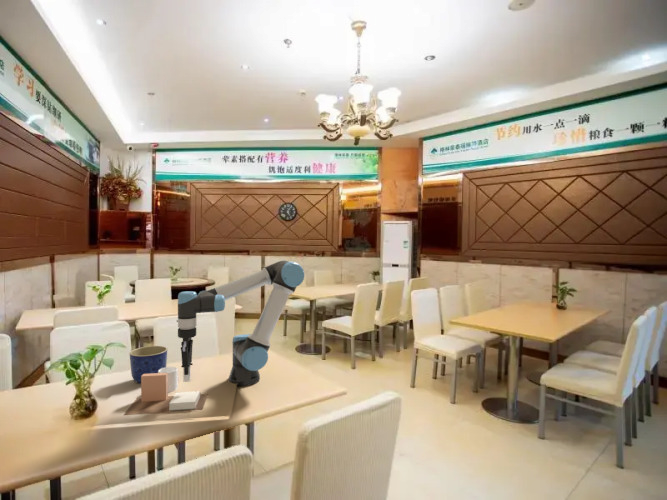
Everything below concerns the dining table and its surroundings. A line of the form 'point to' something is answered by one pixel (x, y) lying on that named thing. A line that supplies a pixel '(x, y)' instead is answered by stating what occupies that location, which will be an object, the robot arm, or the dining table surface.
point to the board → (159, 406)
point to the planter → (147, 361)
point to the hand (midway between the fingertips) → (187, 381)
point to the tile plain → (154, 387)
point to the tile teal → (184, 400)
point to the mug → (171, 377)
